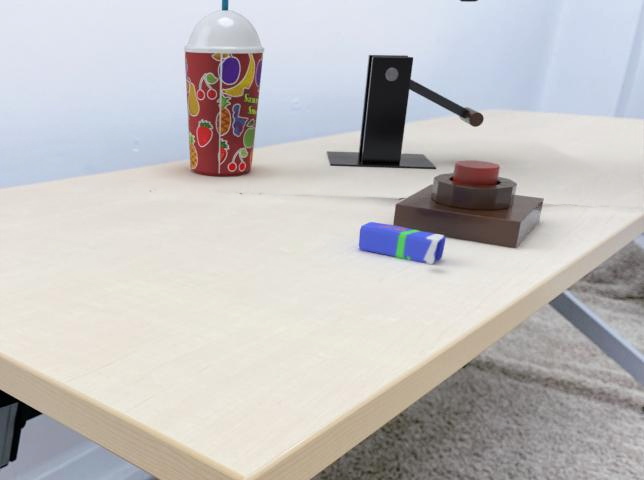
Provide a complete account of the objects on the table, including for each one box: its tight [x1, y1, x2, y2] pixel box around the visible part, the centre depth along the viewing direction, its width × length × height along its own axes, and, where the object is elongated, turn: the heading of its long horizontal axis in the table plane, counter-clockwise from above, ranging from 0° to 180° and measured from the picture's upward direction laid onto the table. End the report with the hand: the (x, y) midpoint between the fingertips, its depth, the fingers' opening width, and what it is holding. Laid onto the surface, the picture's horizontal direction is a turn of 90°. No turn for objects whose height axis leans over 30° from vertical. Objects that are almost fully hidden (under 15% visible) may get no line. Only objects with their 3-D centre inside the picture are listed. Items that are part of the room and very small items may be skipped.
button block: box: [392, 172, 544, 249], centre depth 61 cm, size 10×10×4 cm
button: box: [453, 160, 501, 186], centre depth 60 cm, size 4×4×2 cm
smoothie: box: [183, 0, 265, 177], centre depth 75 cm, size 8×8×20 cm
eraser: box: [358, 221, 447, 265], centre depth 54 cm, size 2×6×2 cm, turn 52°
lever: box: [409, 79, 485, 128], centre depth 82 cm, size 13×6×2 cm, turn 83°
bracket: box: [326, 54, 437, 170], centre depth 84 cm, size 12×9×13 cm
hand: (477, 0), depth 77 cm, fingers open, 8 cm apart
